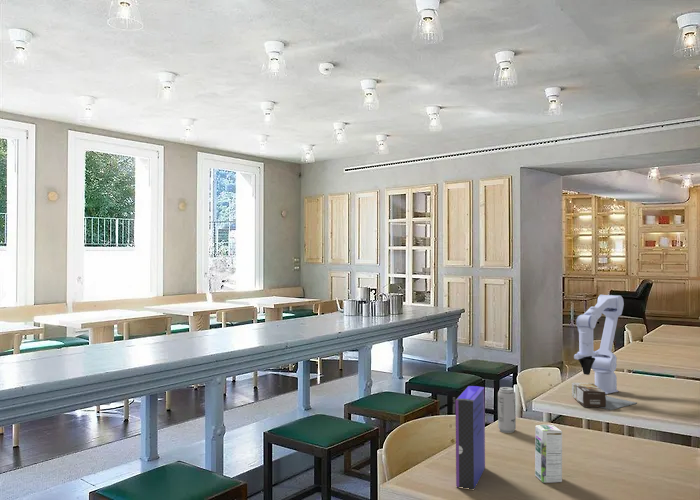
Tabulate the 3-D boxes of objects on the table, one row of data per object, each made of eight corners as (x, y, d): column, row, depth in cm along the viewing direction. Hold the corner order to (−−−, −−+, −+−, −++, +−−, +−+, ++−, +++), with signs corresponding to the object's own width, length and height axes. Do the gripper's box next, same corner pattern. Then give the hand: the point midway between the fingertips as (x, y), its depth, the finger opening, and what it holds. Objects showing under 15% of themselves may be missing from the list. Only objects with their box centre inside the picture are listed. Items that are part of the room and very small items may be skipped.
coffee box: (571, 397, 254) (582, 406, 238) (571, 382, 254) (582, 391, 238) (593, 397, 253) (605, 407, 237) (593, 382, 253) (605, 391, 237)
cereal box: (468, 465, 176) (468, 385, 176) (485, 467, 174) (484, 386, 174) (456, 487, 160) (455, 399, 160) (473, 490, 158) (473, 400, 158)
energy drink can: (516, 433, 206) (516, 390, 206) (498, 432, 207) (498, 390, 207) (515, 428, 212) (514, 386, 212) (497, 427, 213) (497, 386, 213)
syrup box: (534, 475, 168) (533, 424, 168) (554, 474, 168) (553, 423, 168) (542, 483, 162) (542, 430, 162) (563, 482, 162) (562, 430, 162)
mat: (603, 395, 257) (603, 395, 257) (636, 403, 244) (636, 402, 244) (577, 401, 247) (577, 401, 247) (610, 410, 234) (610, 409, 234)
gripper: (588, 340, 261) (588, 370, 261) (567, 343, 253) (568, 374, 253) (602, 342, 255) (603, 373, 255) (582, 345, 247) (582, 377, 247)
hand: (586, 374), depth 254 cm, fingers closed
